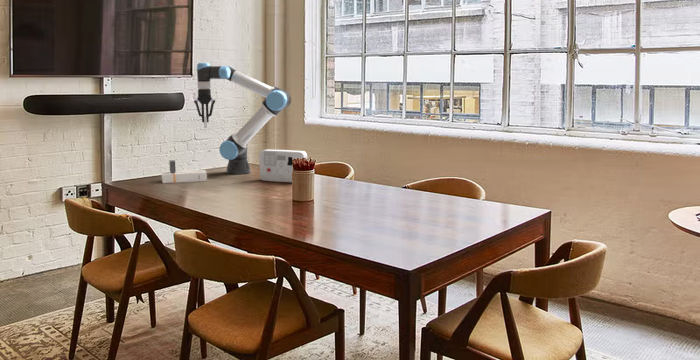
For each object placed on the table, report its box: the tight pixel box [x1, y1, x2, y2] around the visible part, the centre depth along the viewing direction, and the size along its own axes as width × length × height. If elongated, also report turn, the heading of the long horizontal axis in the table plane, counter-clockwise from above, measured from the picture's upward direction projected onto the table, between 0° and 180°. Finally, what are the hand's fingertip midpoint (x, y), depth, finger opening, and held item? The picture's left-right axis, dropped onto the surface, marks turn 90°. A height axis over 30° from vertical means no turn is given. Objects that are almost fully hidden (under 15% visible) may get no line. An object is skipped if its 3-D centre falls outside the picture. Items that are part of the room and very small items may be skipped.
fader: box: [168, 159, 177, 173], centre depth 388 cm, size 3×5×11 cm, turn 19°
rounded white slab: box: [258, 148, 308, 183], centre depth 387 cm, size 29×8×18 cm, turn 70°
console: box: [161, 169, 208, 184], centre depth 391 cm, size 25×11×5 cm, turn 108°
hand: (205, 127), depth 405 cm, fingers closed
